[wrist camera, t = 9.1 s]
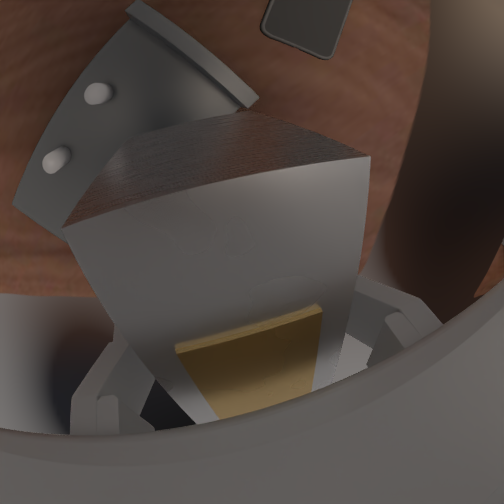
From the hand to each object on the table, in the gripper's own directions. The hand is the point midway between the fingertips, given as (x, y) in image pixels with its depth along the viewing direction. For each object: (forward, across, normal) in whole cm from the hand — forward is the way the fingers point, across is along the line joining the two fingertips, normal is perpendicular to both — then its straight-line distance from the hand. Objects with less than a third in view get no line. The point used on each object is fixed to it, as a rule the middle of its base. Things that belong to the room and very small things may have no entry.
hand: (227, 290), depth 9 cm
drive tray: (+16, +6, -3) cm, 18 cm away
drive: (+2, 0, 0) cm, 2 cm away
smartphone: (+17, -13, -16) cm, 27 cm away
